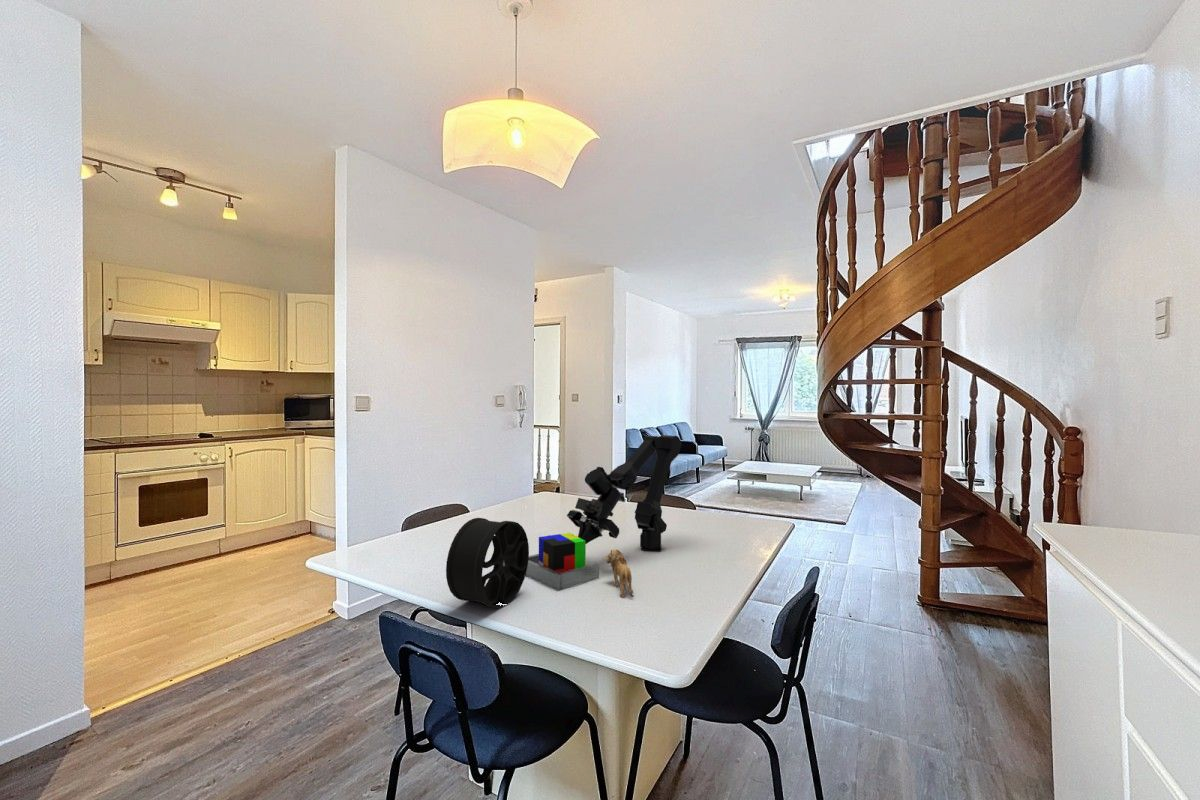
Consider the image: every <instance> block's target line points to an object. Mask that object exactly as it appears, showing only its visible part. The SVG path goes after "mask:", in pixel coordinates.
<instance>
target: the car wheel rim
mask: <svg viewBox="0 0 1200 800" xmlns="http://www.w3.org/2000/svg"><path fill="white" fill-rule="evenodd" d="M491 543H492V547H493V552H492V554H491V557H490V559H489V560H487V561H486V557H487V553H488V550H489V547H490V546H491ZM529 556H530V544H529V539H528V536H527V532H526V530H525V529H524V527H523V526H522V525H521V524H520V523H519V522H517V521H511V520H502V521H496V520H489V519H487V518H484V517H483V518H482V517H474V518H471V519H469V520H467V521H466V522H465V523H464V524H463V525H462V526H461V527H460V528H459V530H458V531H457V533H456V534H455V536H454V538H453V540H452V542H451V544H450V547H449V550H448V553H447V559H446V566H445V577H446V583H447V586H448V589H449V591H450V593H451V594H452V595H453V597H454V598H456V599H458V600H460V601H463V602H468V601H469V602H470V601H474V602H479V603H483V604H484V605H485V606H487V607H491V608H497V609H500V608H504V607H503V605H501V606H500V605H496V604H498V603H499V602H500V603H502V604H507V605H509V604H510V603H511V602H512V601H513V600H514V599H515V598H516V597H517V595H518V594H519V592H520V590H521V588H522V586H523V583H524V581H525V578H526V571H527V567H528V560H529ZM491 567H492V570H491V571H489V572H487V573H486V574H484V575H483V569H488V568H491ZM509 602H510V603H509ZM508 603H509V604H508Z"/></svg>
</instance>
